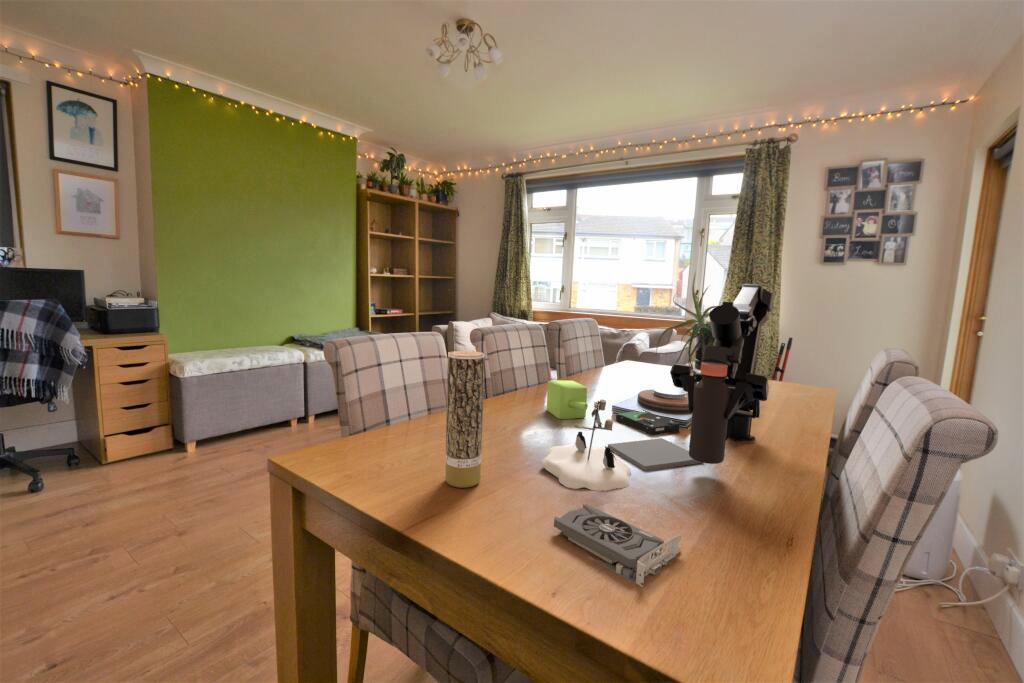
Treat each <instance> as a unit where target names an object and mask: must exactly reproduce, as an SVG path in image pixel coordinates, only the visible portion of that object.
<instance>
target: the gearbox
mask: <svg viewBox="0 0 1024 683" xmlns="http://www.w3.org/2000/svg"><path fill="white" fill-rule="evenodd" d="M546 393H547V394H546V410H547V411H548V412H549V413H551V415H553V416H554V417H556V418H557V419H559V420H570V419H571V420H573V419H581V418H586V416H587V415H586V414H587V413H586V412H587V409H588V407H589V406H588V404H589V403H587V399H588V388H587V387H586V386H584V385H583V384H581V383H579V382H576V381H575V380H559V379H558V380H548V381H547V392H546Z"/></svg>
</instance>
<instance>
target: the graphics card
mask: <svg viewBox="0 0 1024 683" xmlns="http://www.w3.org/2000/svg"><path fill="white" fill-rule="evenodd" d="M553 518H554V519H553V527H554V528H555V529H558V530H560V531H561V532H562V534H563V535H564V536H565V537H568V538H567V540H569V541H571V542H572V543H574V544H575V545H577V546H579V547H581V548H583V550H586V551H587V552H589V553H591V554H593V555H595V556H597V557H598V558H600V559H602V560H604V561H602V560H598V559H595V558H591V557H589V559H590V560H592V561H593V562H595V563H597V564H598V565H600V566H602V567H604V568H605V569H607V570H608V571H611V572H612V573H614V574H616V575H617V576H619V577H621V578H623V579H624V580H626V581H628V582H629V583H633V584H634V583H635V584H636V585H637V586H638V585H639V586H640V587H641V588H644V585H643V584H644V580H645V577H646V576H648V575H649V574H652V575H654V576H655V575H657V574H658V573H659V572H660V571H661V568H663V567H662V566H666V567H668V566H669V565H670V564H672V563H673V562H675V558H676V557H677V555H678V554H679V553H681V550H682V546H681V545H680V542H682V536H683V535H682V534H679V533H678V534H676V535H675V536H673V537H671V538H670V539H668V540H667V541H665V540H664V539H663V538H661V537H659V536H656V535H653V534H652V533H650V532H647V531H646V530H643V529H641V528H639V527H637V526H634V525H632V524H630V523H628V522H626V521H624V520H622V519H619V518H617V517H615V516H613V515H611V514H609V513H606V512H604V511H603V510H600V509H598V508H596V507H593V506H592V505H589V504H587V503H586V504H582V508H578V509H573V510H569V511H567V512H566V513H565V514H563V515H562V516H561V517H558V516H555V515H554V517H553ZM679 545H680V546H679ZM663 552H664V553H663ZM605 561H606V562H605ZM614 563H616V564H615V565H614Z"/></svg>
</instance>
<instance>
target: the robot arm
mask: <svg viewBox="0 0 1024 683" xmlns="http://www.w3.org/2000/svg"><path fill="white" fill-rule="evenodd" d="M773 308H774V296H773V293H772V292H770V291H768V290H767V289H764V285H761V284H759V283H758V284H757V283H756V284H755V283H753V284H752V283H744V284H741V285H740V287H739V290H738V292H737V294H736V297H735V299H734V301H722V305H721V304H720V305H718V306H715V307H714V308H713V309H712V310H711V311H709V314H708V316H709V323H710V327H711V333H712V338H713V339H715V340H714V343H713V345H707V344H706V345H704V350H703V354H702V359H701V360H702V362H714V363H722V364H727V365H728V367H727V376H726V378H725V380H724V382H725V384H726V385H727V386H728V387H729V389H730V401H729V407H728V409H727V414H726V419H727V420H728V422H727V433H726V438H729V439H731V440H734V441H747V440H755V439H756V437H755V436H754V435H752V434H751V429H752V423H753V419H756V418H757V419H758V418H760V414H761V402H765V401H767V400H768V397H769V391H770V390H769V389H770V388H769V378H768V376H767V375H766V374H758V373H754V372H753V371H754V369H755V368H754V366H755V362H756V361H755V360H756V354H757V350H758V349H757V348H758V343H759V336H760V332H761V331H760V330H761V328H762V326H764V325H765V324H766V322H768V320H769V318H770V313H772V312H773ZM670 377H671V380H672V383H673V386H674V387H676V388H680V389H682V390H683V391H684V392H686V393H687V404H688V411H689V413H690V414H692V409H693V397H694V387H695V385H696V384H697V383H699V382H700V381H701V380H702V376H701V372H698V371H695V369H694V370H693V365H689V364H681V363H675V364H673V365H672V366H671V368H670Z"/></svg>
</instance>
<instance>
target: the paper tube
mask: <svg viewBox="0 0 1024 683" xmlns="http://www.w3.org/2000/svg"><path fill="white" fill-rule="evenodd" d="M447 354H448V355H447V377H446V426H445V433H446V434H445V474H444V475H445V478H444V479H445V482H446V484H448V485H449V486H451V487H454V488H459V489H460V488H462V489H465V488H466V489H467V488H473V487H474V486H476V485H478V484H479V482H480V481H481V477H482V452H483V450H482V449H483V448H482V447H483V446H482V444H483V418H484V414H483V411H484V384H485V383H484V381H485V380H484V379H485V353H484V352H481V351H474V350H455V351H454V350H453V351H449V352H448V353H447Z"/></svg>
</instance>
